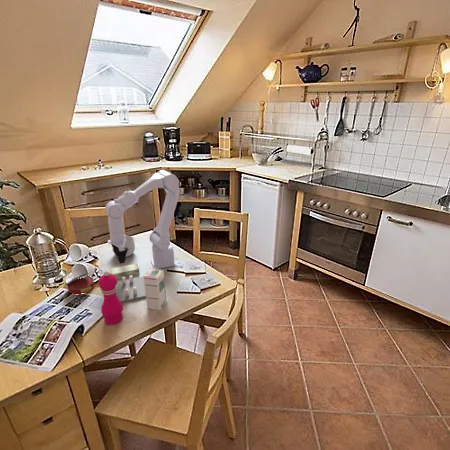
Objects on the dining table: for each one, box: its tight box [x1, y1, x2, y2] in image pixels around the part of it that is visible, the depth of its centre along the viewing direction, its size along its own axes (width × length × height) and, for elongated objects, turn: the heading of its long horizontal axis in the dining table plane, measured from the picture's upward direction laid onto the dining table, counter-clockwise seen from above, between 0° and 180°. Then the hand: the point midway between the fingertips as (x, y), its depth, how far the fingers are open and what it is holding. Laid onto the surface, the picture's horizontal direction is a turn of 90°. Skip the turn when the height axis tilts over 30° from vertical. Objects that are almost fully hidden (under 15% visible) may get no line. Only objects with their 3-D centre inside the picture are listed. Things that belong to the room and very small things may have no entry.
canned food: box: [65, 272, 95, 294], centre depth 128 cm, size 11×10×10 cm
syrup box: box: [142, 267, 167, 311], centre depth 117 cm, size 6×6×14 cm
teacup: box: [111, 234, 136, 258], centre depth 156 cm, size 14×11×8 cm
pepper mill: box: [98, 270, 124, 326], centre depth 108 cm, size 7×7×20 cm
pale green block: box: [109, 263, 140, 280], centre depth 139 cm, size 12×5×3 cm, turn 115°
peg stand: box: [116, 275, 146, 304], centre depth 127 cm, size 18×14×4 cm
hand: (120, 258), depth 135 cm, fingers open, 7 cm apart
